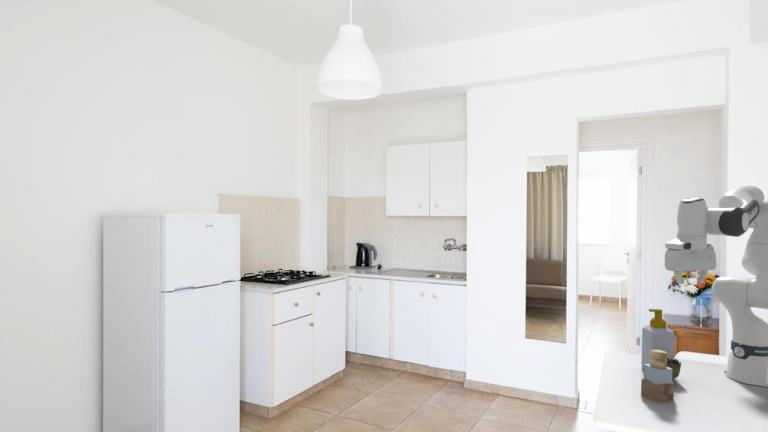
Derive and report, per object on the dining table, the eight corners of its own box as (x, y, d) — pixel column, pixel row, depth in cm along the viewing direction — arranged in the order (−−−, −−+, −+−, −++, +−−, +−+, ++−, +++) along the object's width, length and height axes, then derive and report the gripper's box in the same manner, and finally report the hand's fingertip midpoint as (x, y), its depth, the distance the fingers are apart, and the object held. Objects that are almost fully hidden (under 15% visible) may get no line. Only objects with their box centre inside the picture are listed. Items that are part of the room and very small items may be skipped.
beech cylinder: (656, 363, 163) (657, 349, 163) (670, 367, 158) (670, 353, 158) (646, 364, 161) (647, 350, 161) (659, 369, 156) (660, 354, 156)
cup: (684, 385, 171) (684, 364, 171) (662, 383, 173) (662, 362, 173) (675, 378, 179) (676, 357, 178) (654, 376, 180) (655, 356, 180)
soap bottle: (639, 367, 190) (641, 306, 190) (662, 368, 190) (663, 307, 189) (651, 375, 181) (653, 311, 181) (675, 376, 181) (676, 312, 180)
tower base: (653, 392, 164) (653, 375, 164) (673, 399, 158) (673, 382, 158) (641, 395, 161) (641, 378, 161) (660, 403, 155) (661, 385, 155)
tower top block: (658, 377, 163) (658, 363, 163) (672, 383, 157) (672, 368, 157) (643, 378, 162) (643, 364, 162) (657, 384, 156) (657, 369, 156)
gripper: (704, 243, 169) (704, 280, 169) (661, 243, 163) (660, 282, 163) (722, 244, 163) (721, 283, 163) (677, 244, 157) (676, 285, 157)
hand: (690, 283), depth 163 cm, fingers open, 8 cm apart
